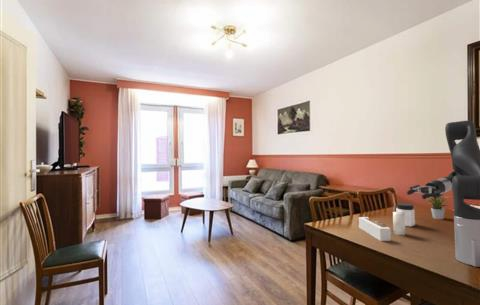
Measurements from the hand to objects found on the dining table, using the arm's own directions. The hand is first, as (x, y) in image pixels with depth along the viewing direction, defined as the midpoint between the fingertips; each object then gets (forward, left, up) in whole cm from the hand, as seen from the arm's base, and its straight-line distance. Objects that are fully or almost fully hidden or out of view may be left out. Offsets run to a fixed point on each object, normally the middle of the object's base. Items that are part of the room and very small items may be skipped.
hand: (415, 195), depth 128 cm
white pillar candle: (0, +9, -20) cm, 22 cm away
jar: (+16, -5, -20) cm, 27 cm away
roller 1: (+14, +14, -20) cm, 28 cm away
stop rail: (+1, +22, -20) cm, 30 cm away
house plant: (+28, -35, -20) cm, 50 cm away
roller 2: (+11, +14, -20) cm, 27 cm away
